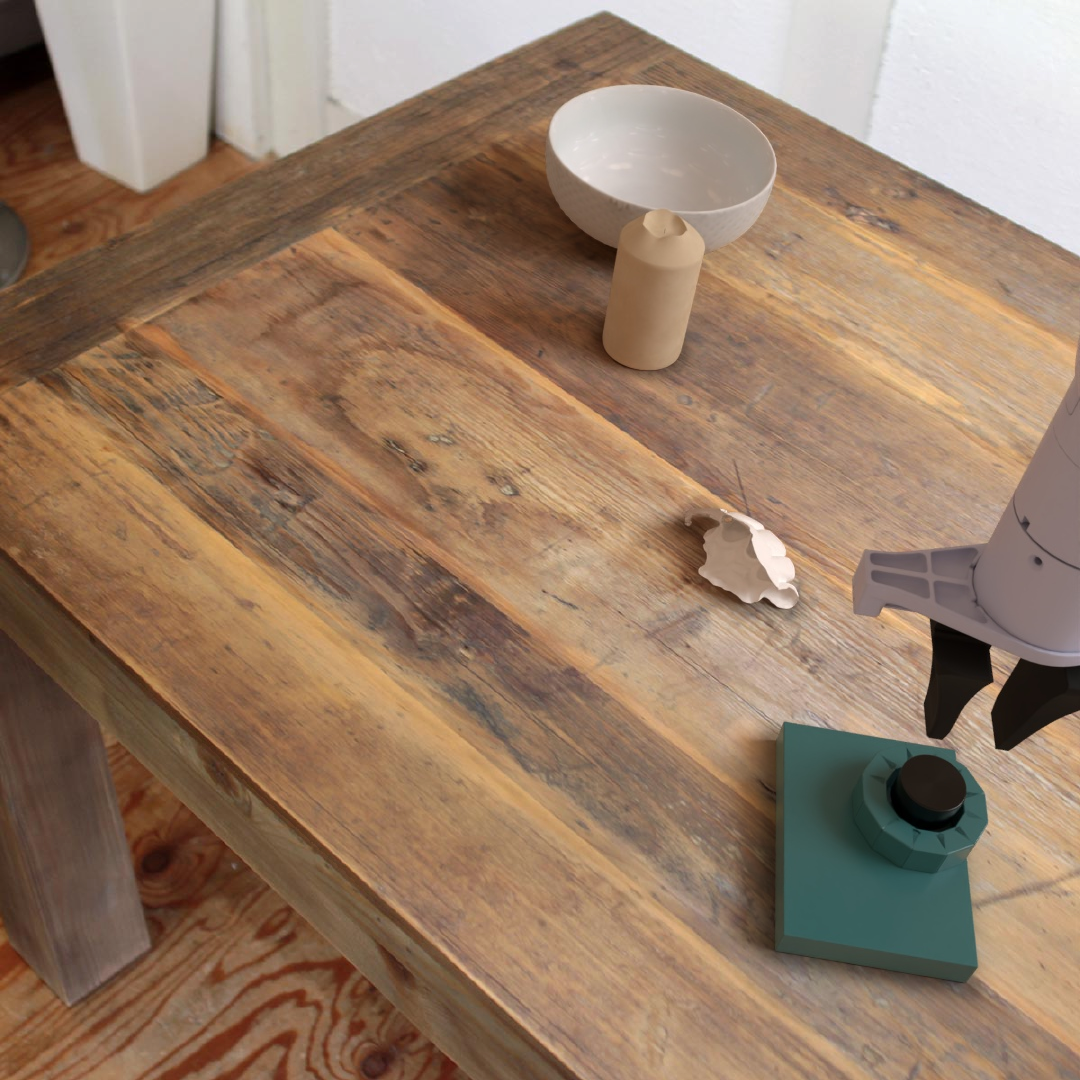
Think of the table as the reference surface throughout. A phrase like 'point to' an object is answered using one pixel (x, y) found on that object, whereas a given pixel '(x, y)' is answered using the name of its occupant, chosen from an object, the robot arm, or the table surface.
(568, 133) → the cereal bowl
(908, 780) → the button
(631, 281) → the candle
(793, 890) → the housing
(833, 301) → the table surface
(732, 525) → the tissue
